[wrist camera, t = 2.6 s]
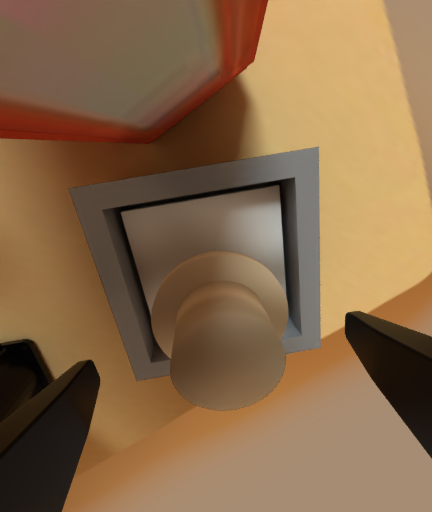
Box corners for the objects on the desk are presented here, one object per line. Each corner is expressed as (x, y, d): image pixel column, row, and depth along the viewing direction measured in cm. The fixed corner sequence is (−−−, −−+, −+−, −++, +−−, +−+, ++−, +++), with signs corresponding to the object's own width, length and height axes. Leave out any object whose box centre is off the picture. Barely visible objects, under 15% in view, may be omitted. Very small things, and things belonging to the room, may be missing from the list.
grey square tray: (289, 303, 21) (320, 347, 15) (152, 328, 20) (136, 381, 15) (280, 154, 17) (318, 146, 11) (109, 183, 16) (68, 188, 11)
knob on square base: (284, 314, 17) (360, 437, 9) (160, 336, 16) (127, 481, 9) (275, 184, 14) (378, 200, 6) (123, 210, 14) (26, 260, 6)
